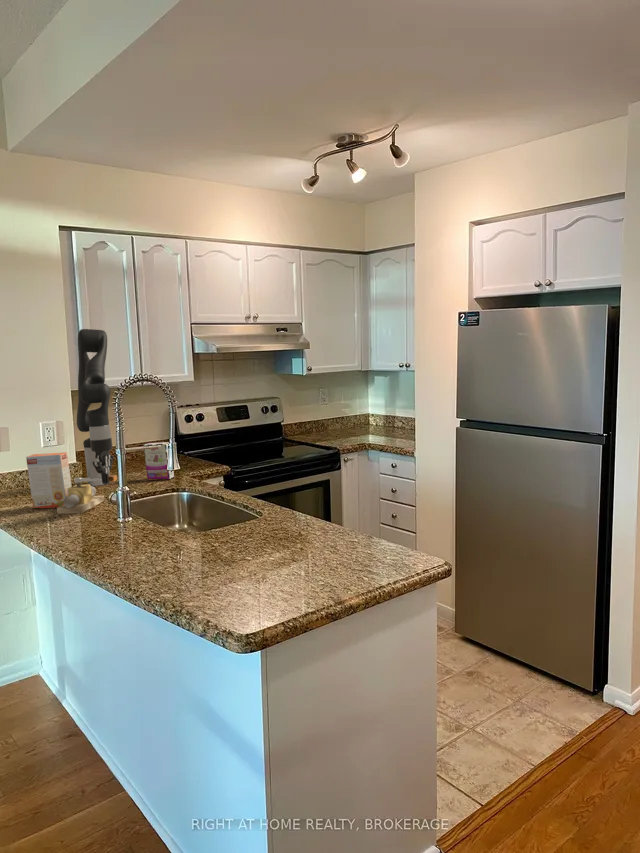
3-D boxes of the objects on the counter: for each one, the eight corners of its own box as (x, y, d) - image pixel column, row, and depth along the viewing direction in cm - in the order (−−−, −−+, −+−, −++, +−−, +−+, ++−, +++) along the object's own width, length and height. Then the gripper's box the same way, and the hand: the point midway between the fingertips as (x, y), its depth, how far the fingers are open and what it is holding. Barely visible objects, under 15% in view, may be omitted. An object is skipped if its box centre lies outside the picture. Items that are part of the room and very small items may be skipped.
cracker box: (74, 503, 248) (67, 451, 245) (67, 507, 242) (60, 454, 239) (41, 505, 249) (33, 453, 246) (32, 509, 243) (25, 456, 240)
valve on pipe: (81, 501, 250) (78, 479, 249) (104, 500, 249) (101, 478, 248) (57, 513, 234) (54, 490, 232) (82, 512, 232) (79, 489, 231)
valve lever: (73, 484, 239) (72, 478, 238) (77, 482, 242) (76, 476, 241) (114, 482, 237) (113, 476, 236) (117, 480, 239) (116, 475, 239)
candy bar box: (174, 477, 283) (171, 441, 281) (169, 480, 278) (165, 443, 276) (152, 477, 286) (148, 442, 284) (147, 480, 281) (142, 444, 279)
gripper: (102, 439, 226) (107, 486, 228) (117, 434, 239) (122, 479, 241) (82, 441, 227) (88, 487, 229) (99, 435, 240) (104, 480, 242)
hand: (106, 483), depth 235 cm, fingers closed
